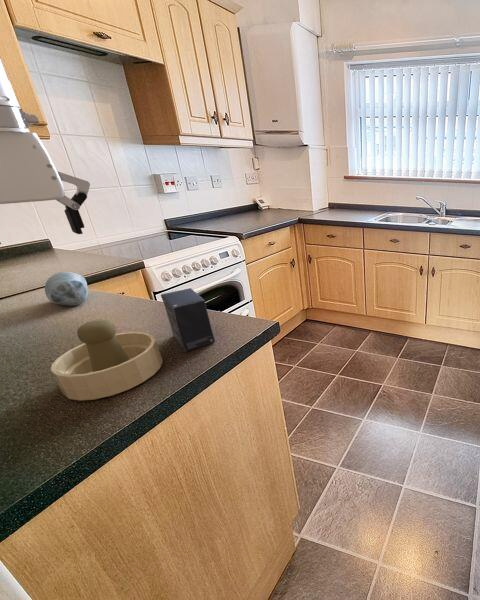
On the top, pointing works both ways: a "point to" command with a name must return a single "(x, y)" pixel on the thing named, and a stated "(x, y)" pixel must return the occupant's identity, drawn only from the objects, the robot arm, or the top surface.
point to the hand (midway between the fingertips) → (39, 238)
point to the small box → (188, 318)
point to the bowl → (93, 385)
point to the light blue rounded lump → (66, 288)
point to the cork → (102, 344)
